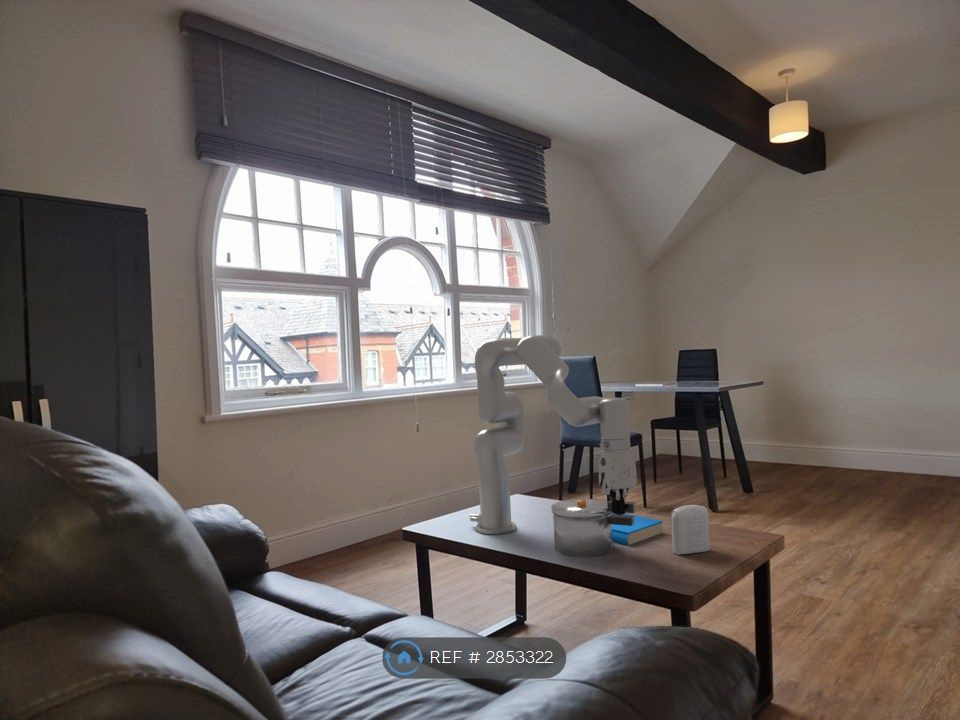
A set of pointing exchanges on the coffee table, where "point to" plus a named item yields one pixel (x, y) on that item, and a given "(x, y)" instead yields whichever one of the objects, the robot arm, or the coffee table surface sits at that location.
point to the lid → (587, 508)
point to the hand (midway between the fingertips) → (618, 513)
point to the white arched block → (690, 529)
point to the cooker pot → (587, 534)
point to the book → (636, 530)
